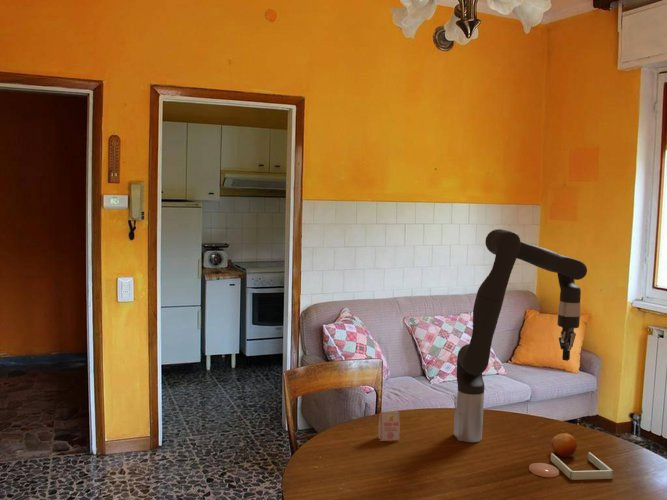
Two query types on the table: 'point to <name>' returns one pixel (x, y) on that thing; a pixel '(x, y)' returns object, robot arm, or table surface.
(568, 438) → the fruit
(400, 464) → the table surface
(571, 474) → the pale gray u-shaped frame
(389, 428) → the tea bag
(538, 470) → the pink shiny oval part
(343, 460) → the table surface
